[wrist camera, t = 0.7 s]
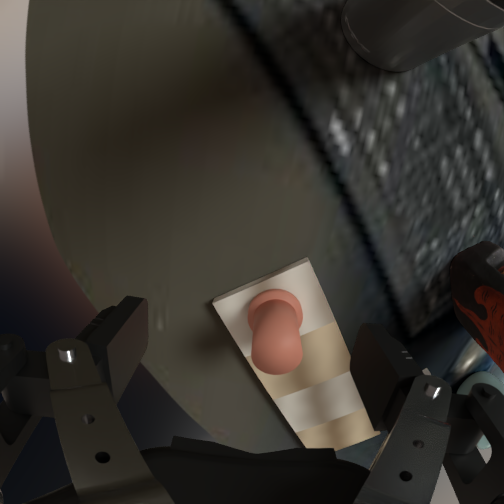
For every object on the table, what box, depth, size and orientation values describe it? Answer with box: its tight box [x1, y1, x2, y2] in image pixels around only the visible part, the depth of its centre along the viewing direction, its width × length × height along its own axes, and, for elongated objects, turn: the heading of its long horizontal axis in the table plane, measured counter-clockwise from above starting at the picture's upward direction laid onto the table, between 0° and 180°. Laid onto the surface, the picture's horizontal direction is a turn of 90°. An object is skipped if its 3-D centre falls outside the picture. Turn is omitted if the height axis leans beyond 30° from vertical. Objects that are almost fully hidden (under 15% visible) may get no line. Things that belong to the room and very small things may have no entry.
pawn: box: [248, 289, 303, 375], centre depth 27 cm, size 5×5×7 cm
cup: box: [456, 371, 504, 449], centre depth 30 cm, size 8×8×10 cm
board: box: [212, 257, 380, 451], centre depth 34 cm, size 10×28×1 cm, turn 26°
